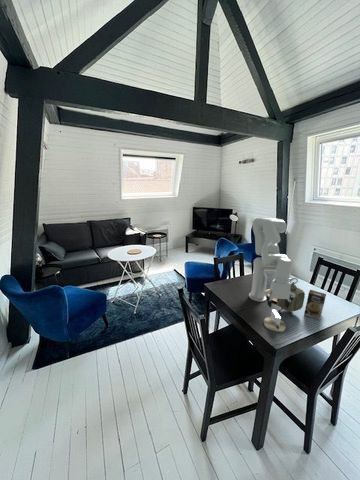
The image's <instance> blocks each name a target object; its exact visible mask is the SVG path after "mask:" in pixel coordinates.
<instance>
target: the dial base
mask: <svg viewBox="0 0 360 480" xmlns="http://www.w3.org/2000/svg"><path fill="white" fill-rule="evenodd" d="M263 325H264V327H265V328H267V329H268V330H270V331H271V332H277V333H282V332H285V330H286V327H287V325H286V323H285V322H284V321H283V320H282V319H281V321H280V327H279V329H278V328H277V327H275V325H274V324H273V322H272V320H271V316H267V317H265V318H264V319H263Z"/></svg>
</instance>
